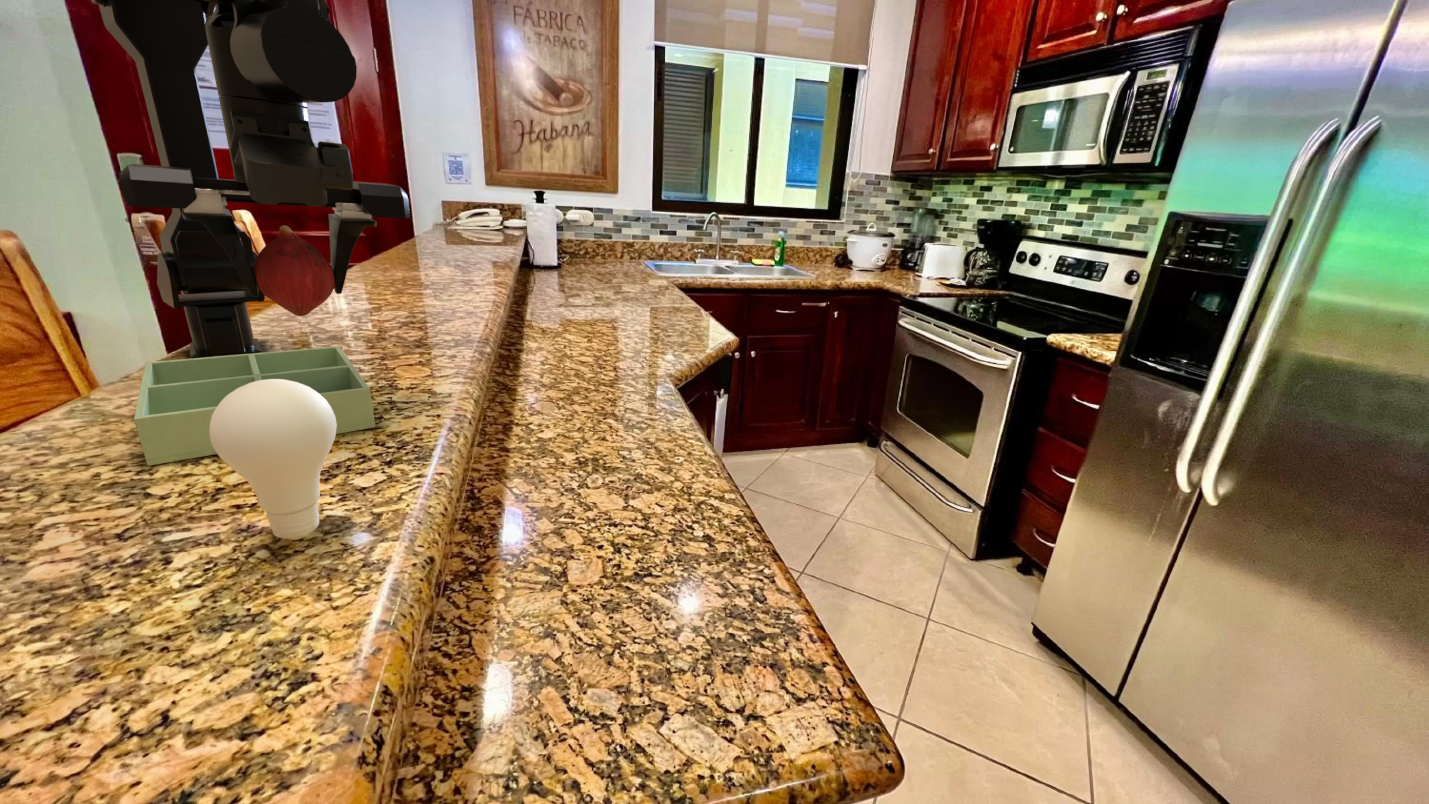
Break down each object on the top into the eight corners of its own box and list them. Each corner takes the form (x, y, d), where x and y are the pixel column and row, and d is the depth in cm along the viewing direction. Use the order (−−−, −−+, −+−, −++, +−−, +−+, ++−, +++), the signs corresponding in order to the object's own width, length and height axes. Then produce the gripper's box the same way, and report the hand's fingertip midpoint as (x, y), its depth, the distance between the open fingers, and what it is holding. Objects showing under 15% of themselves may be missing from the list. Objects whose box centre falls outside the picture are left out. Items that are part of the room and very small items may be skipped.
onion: (354, 313, 53) (342, 228, 51) (307, 326, 48) (291, 231, 45) (297, 306, 54) (282, 221, 51) (245, 318, 48) (225, 224, 46)
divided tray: (156, 401, 53) (145, 362, 52) (344, 379, 63) (339, 345, 62) (147, 466, 43) (133, 419, 41) (375, 427, 53) (370, 388, 51)
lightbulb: (223, 573, 33) (178, 403, 29) (255, 518, 38) (220, 367, 34) (344, 556, 35) (317, 396, 31) (359, 506, 40) (337, 364, 37)
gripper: (81, 68, 33) (150, 321, 39) (418, 119, 45) (434, 307, 51) (101, 82, 41) (156, 292, 46) (385, 122, 53) (402, 285, 58)
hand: (298, 294), depth 50 cm, fingers closed on onion, 6 cm apart
